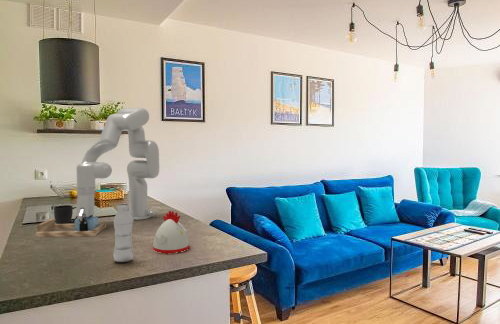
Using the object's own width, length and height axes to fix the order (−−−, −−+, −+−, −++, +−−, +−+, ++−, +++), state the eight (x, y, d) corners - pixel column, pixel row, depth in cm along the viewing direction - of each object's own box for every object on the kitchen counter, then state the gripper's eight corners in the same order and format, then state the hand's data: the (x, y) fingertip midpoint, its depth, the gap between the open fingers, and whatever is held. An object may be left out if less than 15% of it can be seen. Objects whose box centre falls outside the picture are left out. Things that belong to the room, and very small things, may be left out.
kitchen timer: (171, 256, 132) (171, 216, 131) (145, 250, 139) (145, 212, 138) (196, 247, 143) (196, 210, 143) (171, 242, 151) (171, 206, 150)
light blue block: (98, 229, 165) (97, 216, 165) (93, 233, 159) (93, 219, 159) (79, 230, 164) (79, 216, 164) (75, 233, 158) (74, 219, 158)
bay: (105, 229, 170) (105, 217, 170) (95, 238, 154) (95, 224, 154) (52, 230, 168) (52, 217, 167) (36, 239, 152) (35, 225, 151)
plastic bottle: (116, 258, 129) (115, 203, 127) (135, 258, 129) (135, 203, 128) (110, 264, 122) (110, 206, 121) (131, 264, 123) (130, 206, 122)
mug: (80, 226, 176) (80, 207, 176) (53, 228, 172) (52, 208, 171) (81, 222, 184) (81, 204, 183) (55, 224, 179) (54, 205, 179)
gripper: (84, 188, 169) (84, 225, 170) (69, 193, 151) (70, 235, 152) (100, 188, 170) (101, 225, 171) (88, 193, 152) (88, 234, 153)
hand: (86, 229), depth 161 cm, fingers open, 7 cm apart
